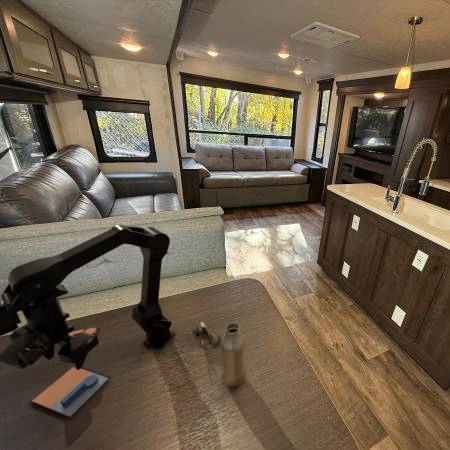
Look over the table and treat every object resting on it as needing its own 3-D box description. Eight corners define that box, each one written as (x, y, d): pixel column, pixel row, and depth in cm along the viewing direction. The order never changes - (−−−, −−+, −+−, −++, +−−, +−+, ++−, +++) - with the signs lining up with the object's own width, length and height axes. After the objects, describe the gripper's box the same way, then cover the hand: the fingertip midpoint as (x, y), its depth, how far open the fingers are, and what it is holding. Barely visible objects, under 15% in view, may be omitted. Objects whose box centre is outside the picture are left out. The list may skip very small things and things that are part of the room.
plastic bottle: (240, 392, 69) (239, 340, 61) (217, 386, 70) (214, 334, 62) (249, 371, 75) (249, 321, 67) (228, 366, 76) (226, 316, 68)
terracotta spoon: (63, 344, 77) (61, 339, 76) (65, 337, 80) (63, 332, 79) (96, 335, 81) (94, 330, 81) (97, 328, 84) (95, 323, 83)
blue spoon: (69, 409, 61) (66, 404, 60) (59, 405, 62) (56, 400, 61) (101, 379, 68) (99, 373, 67) (92, 376, 69) (90, 370, 68)
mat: (108, 379, 69) (108, 378, 69) (69, 417, 60) (69, 416, 60) (74, 367, 71) (74, 366, 71) (32, 402, 62) (31, 400, 62)
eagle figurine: (185, 347, 79) (209, 351, 77) (188, 323, 81) (212, 327, 78) (200, 341, 86) (222, 345, 84) (203, 320, 88) (225, 323, 85)
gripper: (-37, 332, 50) (-6, 383, 56) (33, 357, 47) (58, 408, 53) (30, 298, 60) (50, 344, 66) (92, 316, 57) (107, 363, 63)
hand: (65, 363), depth 62 cm, fingers open, 9 cm apart
